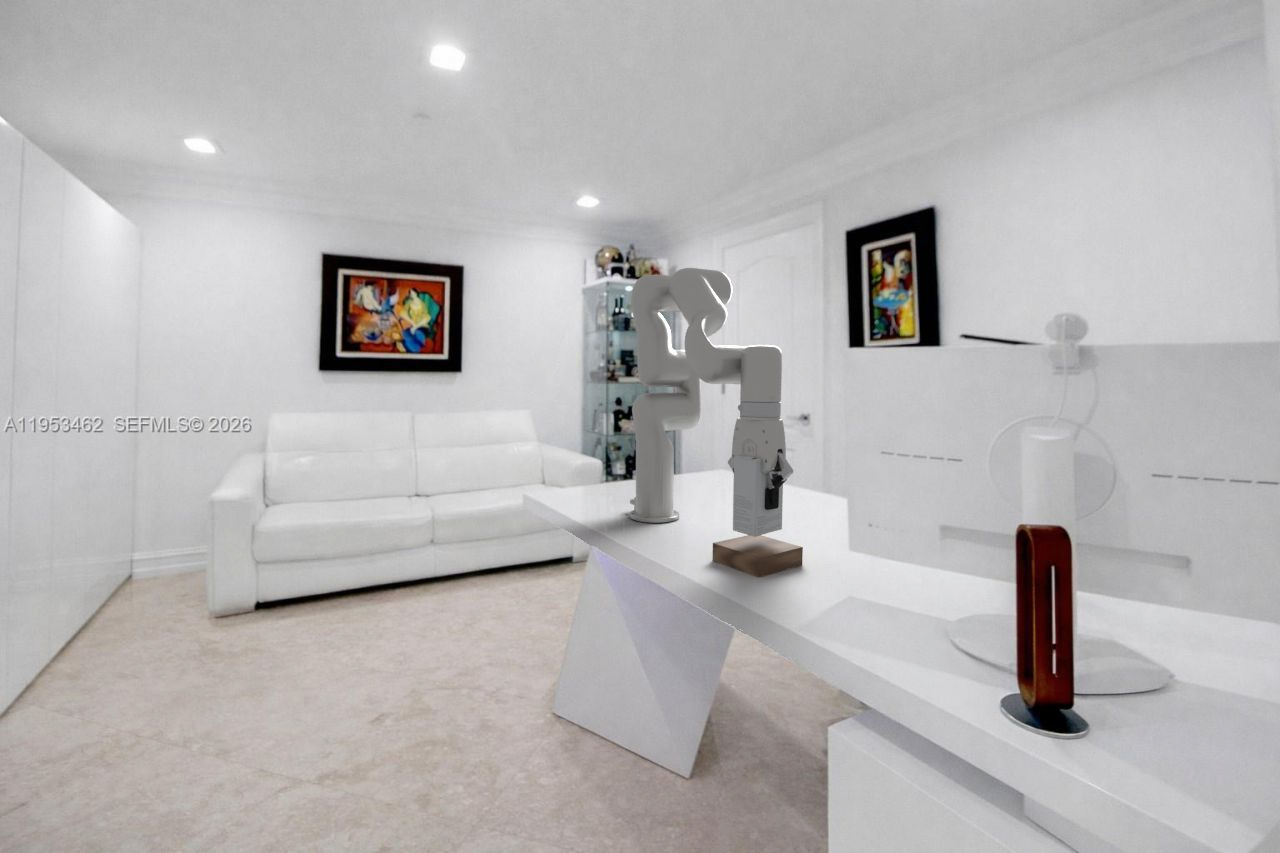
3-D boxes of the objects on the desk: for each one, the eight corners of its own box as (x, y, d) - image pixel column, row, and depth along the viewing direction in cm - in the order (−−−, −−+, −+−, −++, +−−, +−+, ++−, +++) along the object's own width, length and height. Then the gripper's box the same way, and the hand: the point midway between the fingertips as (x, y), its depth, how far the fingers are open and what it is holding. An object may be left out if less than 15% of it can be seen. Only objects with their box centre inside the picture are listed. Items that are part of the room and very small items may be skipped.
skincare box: (759, 524, 120) (760, 451, 119) (784, 530, 116) (785, 453, 115) (730, 531, 115) (732, 454, 114) (755, 537, 110) (756, 457, 109)
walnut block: (712, 560, 117) (712, 542, 117) (755, 550, 124) (755, 533, 124) (759, 577, 108) (759, 557, 107) (802, 565, 115) (802, 547, 114)
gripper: (713, 409, 118) (712, 500, 120) (783, 414, 104) (780, 516, 106) (740, 408, 123) (739, 496, 124) (810, 413, 109) (807, 511, 110)
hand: (758, 504), depth 115 cm, fingers closed on skincare box, 6 cm apart
